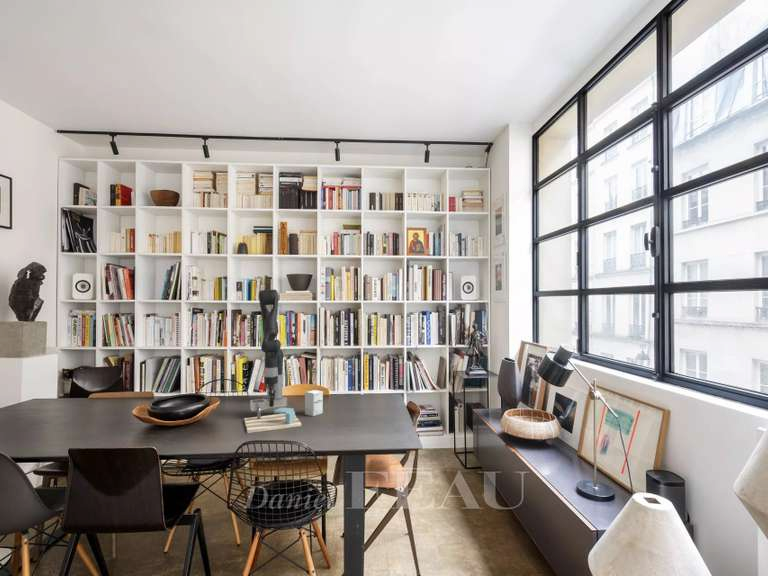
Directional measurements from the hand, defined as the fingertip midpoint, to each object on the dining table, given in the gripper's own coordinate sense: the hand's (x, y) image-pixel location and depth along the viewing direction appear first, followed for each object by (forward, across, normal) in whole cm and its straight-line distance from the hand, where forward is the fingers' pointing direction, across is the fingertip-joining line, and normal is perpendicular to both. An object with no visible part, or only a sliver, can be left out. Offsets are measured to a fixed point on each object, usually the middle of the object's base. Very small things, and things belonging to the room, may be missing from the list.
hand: (270, 405), depth 214 cm
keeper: (+5, +20, +4) cm, 21 cm away
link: (+1, 0, -1) cm, 1 cm away
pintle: (+5, +9, -8) cm, 13 cm away
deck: (+5, +16, -2) cm, 17 cm away
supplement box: (+6, +9, +22) cm, 25 cm away
